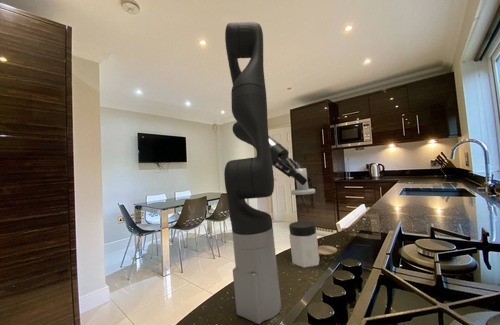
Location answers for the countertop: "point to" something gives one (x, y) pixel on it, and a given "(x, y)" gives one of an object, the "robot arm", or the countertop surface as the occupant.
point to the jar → (304, 244)
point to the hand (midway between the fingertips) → (307, 182)
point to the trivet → (326, 249)
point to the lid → (302, 188)
